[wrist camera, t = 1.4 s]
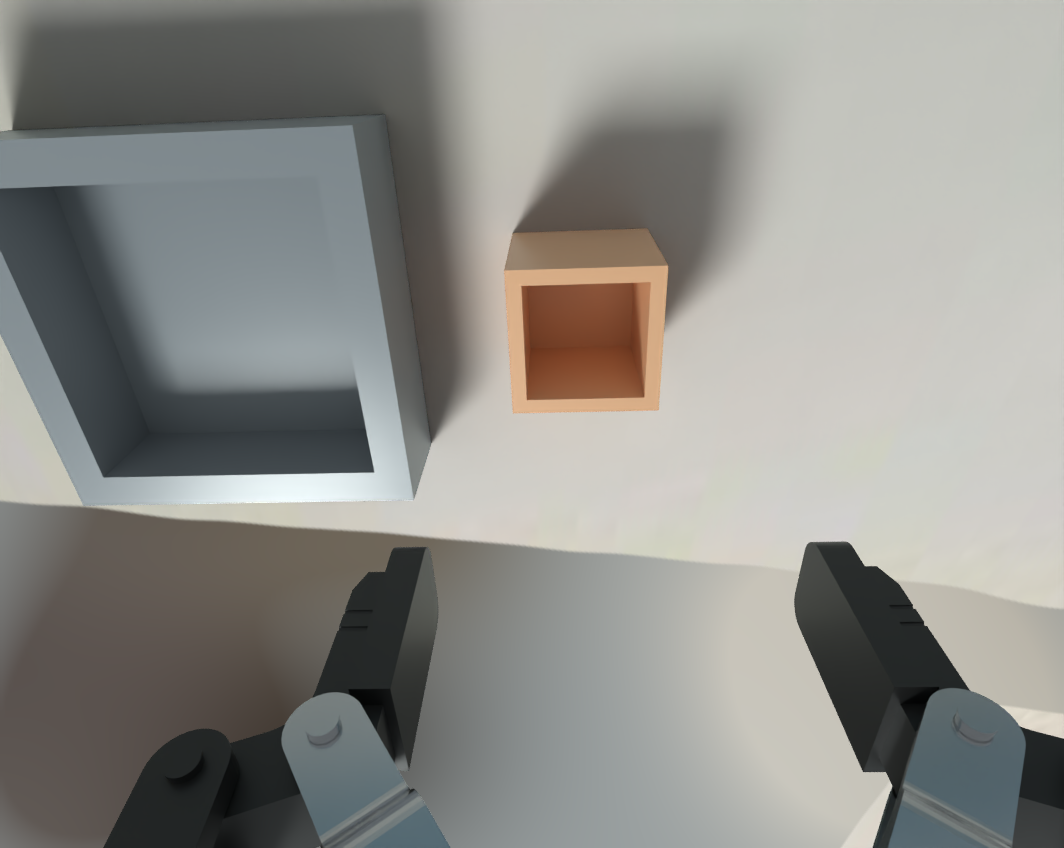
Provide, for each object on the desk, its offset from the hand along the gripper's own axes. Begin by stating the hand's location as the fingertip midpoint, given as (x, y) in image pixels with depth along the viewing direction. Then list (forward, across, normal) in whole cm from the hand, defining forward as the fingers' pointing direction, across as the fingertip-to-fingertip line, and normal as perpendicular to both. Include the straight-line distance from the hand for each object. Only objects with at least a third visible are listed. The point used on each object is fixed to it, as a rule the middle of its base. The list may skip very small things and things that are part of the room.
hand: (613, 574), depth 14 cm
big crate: (+19, +16, 0) cm, 25 cm away
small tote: (+19, 0, 0) cm, 19 cm away
